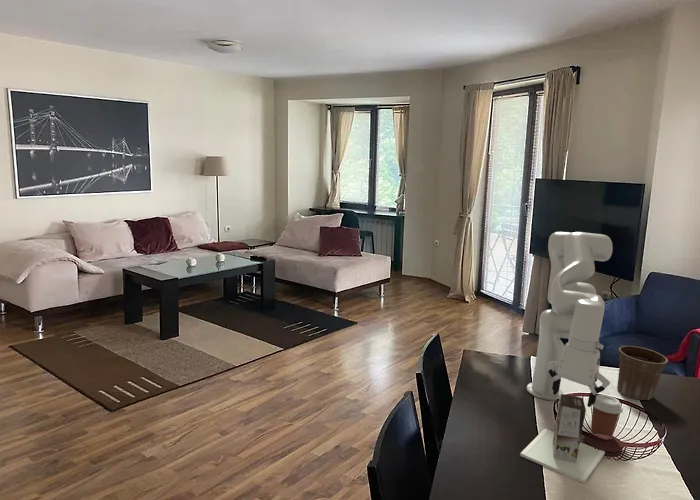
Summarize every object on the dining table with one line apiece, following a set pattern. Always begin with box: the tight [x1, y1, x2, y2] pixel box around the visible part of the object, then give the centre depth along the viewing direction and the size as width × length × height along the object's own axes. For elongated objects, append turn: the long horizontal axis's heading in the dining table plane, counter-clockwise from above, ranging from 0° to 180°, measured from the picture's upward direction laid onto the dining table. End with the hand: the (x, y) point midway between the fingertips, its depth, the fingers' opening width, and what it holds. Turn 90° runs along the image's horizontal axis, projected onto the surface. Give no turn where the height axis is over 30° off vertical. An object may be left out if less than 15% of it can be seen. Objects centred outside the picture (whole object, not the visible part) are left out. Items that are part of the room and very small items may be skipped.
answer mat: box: [519, 427, 606, 484], centre depth 160 cm, size 20×18×1 cm
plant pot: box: [616, 345, 669, 401], centre depth 205 cm, size 16×16×16 cm
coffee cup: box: [590, 394, 624, 436], centre depth 173 cm, size 9×9×12 cm
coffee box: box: [553, 393, 587, 462], centre depth 158 cm, size 9×6×16 cm
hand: (572, 399), depth 157 cm, fingers open, 9 cm apart
